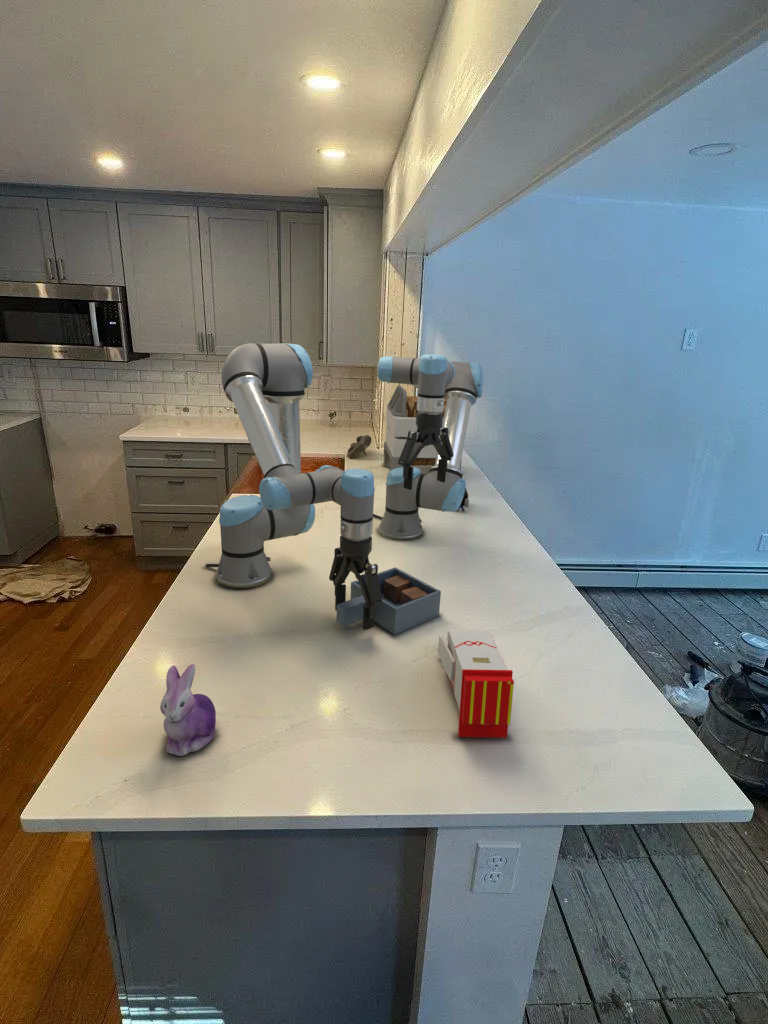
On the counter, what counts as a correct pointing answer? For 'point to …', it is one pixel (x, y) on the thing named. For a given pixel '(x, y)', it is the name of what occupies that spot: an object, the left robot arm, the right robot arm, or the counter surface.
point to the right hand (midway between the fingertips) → (424, 484)
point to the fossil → (359, 446)
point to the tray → (391, 605)
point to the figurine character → (464, 500)
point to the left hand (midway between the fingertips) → (353, 618)
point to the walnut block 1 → (395, 588)
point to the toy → (478, 682)
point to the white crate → (404, 430)
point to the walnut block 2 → (411, 595)
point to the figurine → (186, 714)
